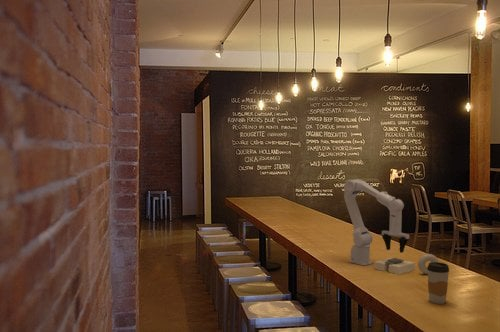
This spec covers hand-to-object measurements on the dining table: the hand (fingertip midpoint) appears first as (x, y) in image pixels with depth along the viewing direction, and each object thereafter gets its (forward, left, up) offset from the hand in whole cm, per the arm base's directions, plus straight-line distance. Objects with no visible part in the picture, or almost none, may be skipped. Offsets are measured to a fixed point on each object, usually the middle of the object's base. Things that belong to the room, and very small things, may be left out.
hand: (394, 251), depth 257 cm
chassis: (0, 0, -9) cm, 9 cm away
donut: (+16, +4, -10) cm, 19 cm away
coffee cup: (+40, -31, -9) cm, 51 cm away
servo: (0, 0, -9) cm, 9 cm away
